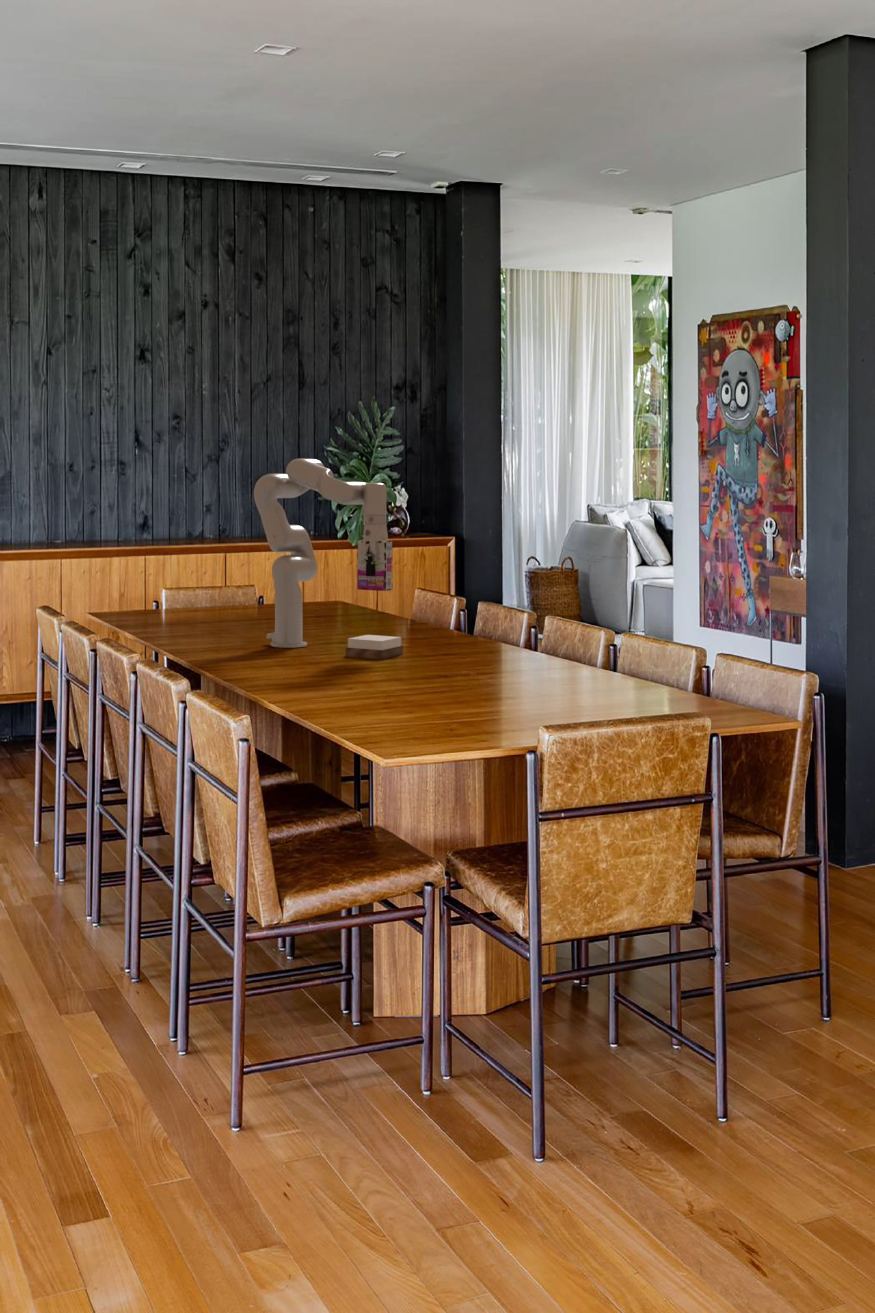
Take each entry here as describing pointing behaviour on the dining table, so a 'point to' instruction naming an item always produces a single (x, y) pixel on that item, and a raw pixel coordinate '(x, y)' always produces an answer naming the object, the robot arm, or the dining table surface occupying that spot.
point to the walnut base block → (374, 652)
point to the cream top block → (374, 642)
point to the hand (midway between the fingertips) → (374, 575)
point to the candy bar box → (382, 568)
